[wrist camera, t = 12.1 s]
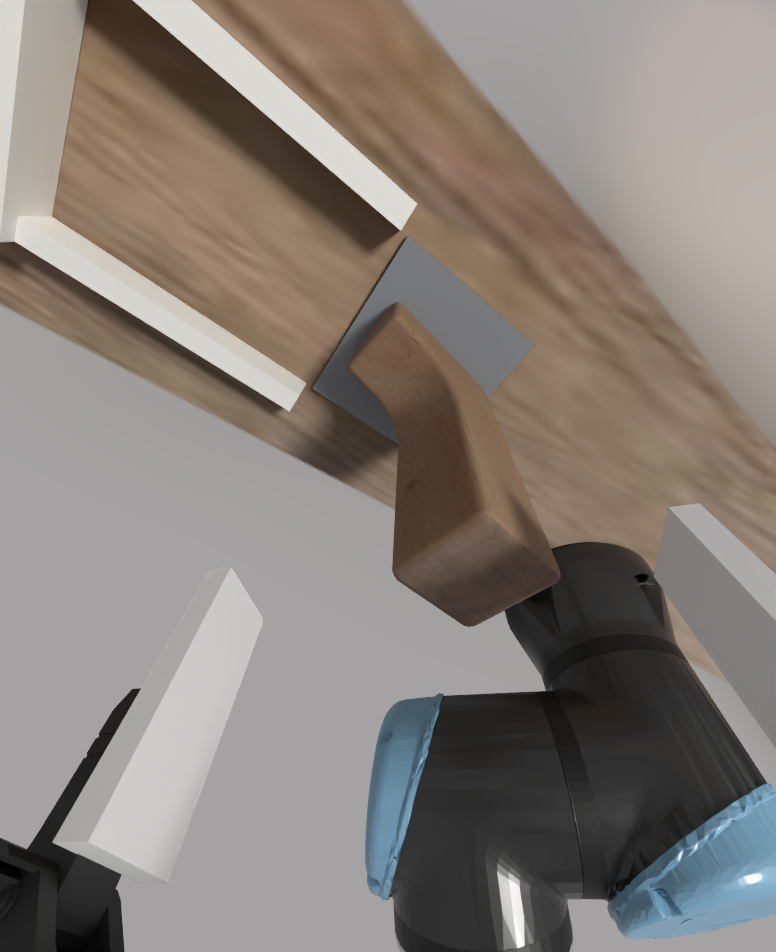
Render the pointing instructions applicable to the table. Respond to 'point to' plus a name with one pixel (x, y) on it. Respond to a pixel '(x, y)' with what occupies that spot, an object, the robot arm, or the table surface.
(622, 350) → the table surface
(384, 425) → the pad
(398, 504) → the wooden block
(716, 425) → the table surface
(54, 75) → the white u-shaped bracket
